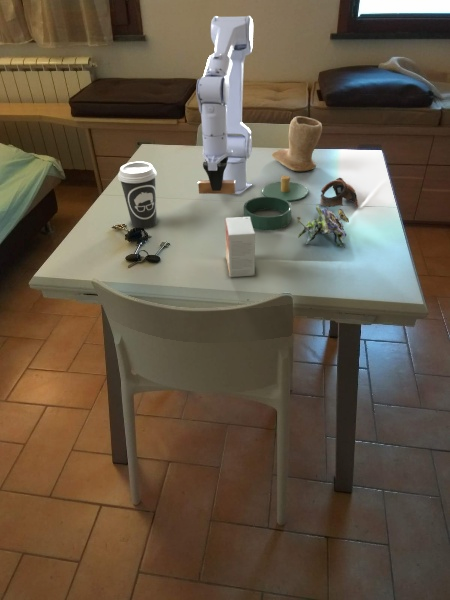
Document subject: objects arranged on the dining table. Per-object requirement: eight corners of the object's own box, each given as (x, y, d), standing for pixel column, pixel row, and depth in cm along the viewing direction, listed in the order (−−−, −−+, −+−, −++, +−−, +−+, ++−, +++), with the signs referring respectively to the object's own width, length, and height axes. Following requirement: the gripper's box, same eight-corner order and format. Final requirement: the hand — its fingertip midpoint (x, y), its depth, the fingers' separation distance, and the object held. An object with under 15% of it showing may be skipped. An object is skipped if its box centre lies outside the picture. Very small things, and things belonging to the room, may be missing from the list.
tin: (235, 225, 123) (234, 210, 121) (257, 206, 132) (257, 193, 129) (277, 235, 118) (278, 221, 116) (298, 216, 126) (299, 202, 124)
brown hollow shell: (362, 215, 126) (352, 193, 121) (328, 227, 130) (317, 206, 125) (357, 186, 134) (347, 164, 128) (325, 198, 138) (314, 177, 132)
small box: (226, 258, 110) (224, 217, 104) (250, 257, 110) (250, 215, 104) (229, 278, 104) (227, 234, 97) (254, 276, 104) (255, 233, 98)
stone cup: (325, 170, 151) (330, 121, 142) (292, 176, 148) (295, 127, 139) (301, 155, 163) (304, 109, 154) (270, 161, 159) (271, 114, 150)
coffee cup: (168, 216, 128) (162, 162, 119) (152, 233, 121) (145, 176, 112) (136, 212, 131) (128, 158, 122) (119, 228, 124) (109, 172, 115)
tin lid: (254, 198, 136) (254, 181, 133) (274, 182, 145) (275, 165, 142) (296, 207, 130) (297, 189, 127) (314, 190, 139) (316, 173, 136)
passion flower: (335, 264, 117) (358, 242, 106) (293, 261, 115) (311, 238, 103) (331, 222, 120) (352, 197, 109) (290, 219, 118) (307, 193, 107)
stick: (198, 193, 119) (198, 183, 117) (199, 190, 121) (199, 179, 119) (235, 193, 118) (234, 183, 117) (235, 190, 120) (235, 179, 118)
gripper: (229, 142, 105) (230, 200, 113) (234, 123, 116) (235, 176, 124) (197, 143, 105) (201, 200, 113) (205, 123, 117) (208, 176, 125)
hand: (217, 188), depth 119 cm, fingers closed on stick, 2 cm apart
